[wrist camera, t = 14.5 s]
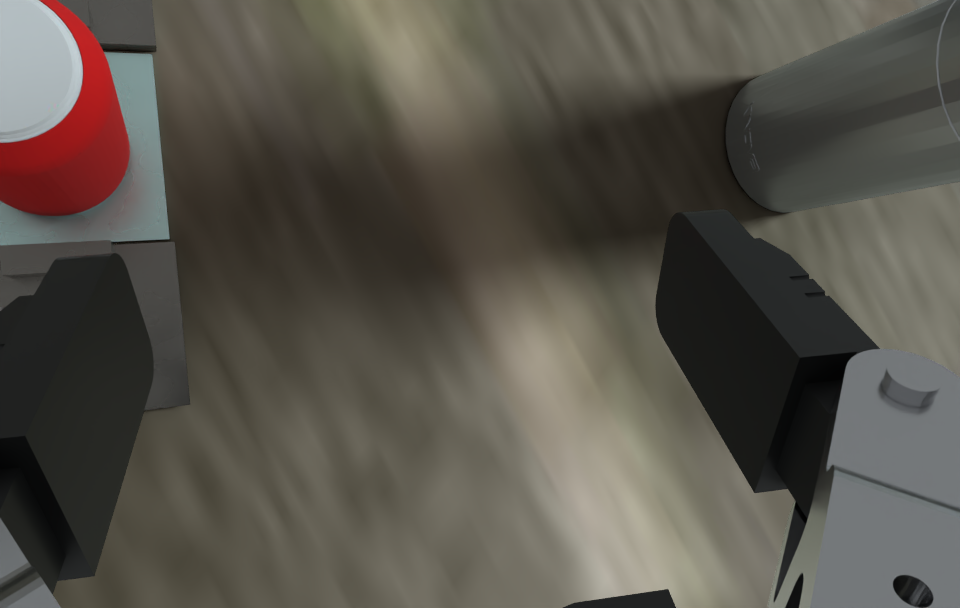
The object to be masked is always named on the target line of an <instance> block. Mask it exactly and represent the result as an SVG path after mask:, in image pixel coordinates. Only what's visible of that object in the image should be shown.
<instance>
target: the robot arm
mask: <svg viewBox="0 0 960 608" xmlns="http://www.w3.org/2000/svg"><path fill="white" fill-rule="evenodd" d="M726 147H727V153H728V159H729V162H730V165H731V167H732V170H733V173H734V175H735V177H736V179H737V180H738V182H739V184H740V186H741V187H742V188H743V189H744V191H745V192H746V193H747V194H748V195H749V197H750V198H752V199H753V200H754V201H755V202H757V203H758V204H759V205H761V206H763V207H765V208H767V209H769V210H771V211H776V212H781V213H785V212H796V211H801V210H807V209H812V208H818V207H823V206H829V205H834V204H841V203H847V202H852V201H857V200H863V199H868V198H874V197H879V196H885V195H890V194H895V193H901V192H906V191H912V190H917V189H923V188H928V187H934V186H939V185H944V184H950V183H955V182H960V0H938V1H936V2H933V3H931V4H929V5H926V6H924V7H922V8H919V9H917V10H915V11H912V12H910V13H907V14H905V15H903V16H900V17H898V18H896V19H893V20H891V21H889V22H886V23H884V24H881V25H879V26H877V27H874V28H872V29H870V30H867V31H865V32H863V33H860V34H858V35H855V36H853V37H851V38H848V39H846V40H844V41H841V42H839V43H837V44H834V45H832V46H829V47H827V48H825V49H822V50H820V51H818V52H815V53H813V54H811V55H808V56H805V57H803V58H801V59H798V60H796V61H794V62H791V63H789V64H787V65H784V66H782V67H779V68H777V69H775V70H772V71H770V72H768V73H765V74H763V75H761V76H759V77H757V78H755V79H753V80H751V81H749V82H748V83H747V84H746V85H745V86H744V87H743V88H742V89H741V90H740V91H739V93H738V94H737V96H736V97H735V99H734V101H733V103H732V105H731V108H730V111H729V113H728V119H727V124H726ZM656 318H657V323H658V327H659V330H660V333H661V335H662V337H663V339H664V341H665V342H666V344H667V346H668V347H669V349H670V351H671V352H672V354H673V356H674V357H675V359H676V361H677V363H678V364H679V366H680V368H681V369H682V371H683V373H684V374H685V376H686V378H687V379H688V381H689V383H690V385H691V386H692V388H693V390H694V391H695V393H696V395H697V396H698V398H699V400H700V401H701V403H702V405H703V407H704V408H705V410H706V412H707V413H708V415H709V417H710V418H711V420H712V422H713V423H714V425H715V427H716V429H717V430H718V432H719V434H720V435H721V437H722V439H723V440H724V442H725V444H726V446H727V447H728V449H729V451H730V452H731V454H732V456H733V457H734V459H735V461H736V462H737V464H738V466H739V468H740V469H741V471H742V473H743V474H744V476H745V478H746V479H747V481H748V483H749V484H750V486H751V488H752V490H753V491H754V493H759V492H767V491H775V490H782V489H788V490H789V491H790V493H791V494H792V496H793V497H794V499H795V501H794V503H793V506H792V509H791V511H790V514H789V516H788V521H787V525H786V529H785V533H784V538H783V542H782V546H781V551H780V555H779V559H778V563H777V568H776V572H775V576H774V580H773V585H772V589H771V593H770V598H769V602H768V606H767V608H960V377H958V376H957V375H956V374H954V373H953V372H952V371H950V370H949V369H947V368H946V367H944V366H942V365H940V364H938V363H936V362H934V361H932V360H930V359H927V358H925V357H923V356H919V355H916V354H913V353H909V352H905V351H900V350H893V349H880V348H879V347H878V346H877V345H876V344H875V343H874V342H873V341H872V340H871V339H870V338H869V337H868V336H867V335H866V334H865V333H864V332H863V331H862V330H861V328H860V327H859V326H858V325H857V324H856V323H855V322H854V321H853V320H852V319H851V318H850V317H849V316H848V315H847V314H846V313H845V312H844V311H843V310H842V309H841V308H840V307H839V306H838V305H837V304H836V302H835V301H834V300H833V299H832V298H831V297H830V296H825V291H824V290H823V289H822V288H821V287H820V286H819V285H818V284H817V283H816V282H815V281H814V280H813V279H809V274H808V273H807V272H806V271H805V270H804V269H803V268H802V267H801V266H800V265H799V264H798V263H797V262H796V261H795V260H794V259H793V258H792V257H791V256H790V255H789V254H787V253H786V252H784V251H782V250H780V249H778V248H777V247H775V246H773V245H771V244H770V243H768V242H766V241H764V240H762V239H761V238H756V239H754V238H753V237H752V236H751V235H750V234H749V233H748V232H747V231H746V229H745V228H744V227H743V226H742V225H741V224H740V223H739V222H738V221H737V220H736V219H735V217H734V216H733V215H732V214H731V213H730V212H729V211H727V210H724V209H720V210H707V211H693V212H680V213H676V214H675V215H674V216H673V217H672V219H671V221H670V224H669V227H668V232H667V238H666V243H665V249H664V255H663V260H662V266H661V272H660V277H659V283H658V289H657V294H656ZM153 374H154V360H153V351H152V346H151V341H150V338H149V335H148V332H147V329H146V326H145V322H144V319H143V316H142V313H141V310H140V307H139V304H138V301H137V297H136V294H135V291H134V288H133V285H132V282H131V279H130V276H129V273H128V270H127V267H126V264H125V262H124V260H123V259H122V257H121V256H120V255H119V254H117V253H108V254H94V255H81V256H67V257H58V258H56V259H55V260H54V262H53V263H52V265H51V266H50V268H49V270H48V272H47V273H46V275H45V277H44V278H43V280H42V282H41V284H40V285H39V287H38V289H37V290H36V292H35V294H34V295H27V296H19V297H17V298H16V299H15V300H14V301H12V302H11V303H10V304H8V305H7V306H6V307H5V308H3V309H2V310H1V311H0V608H61V607H60V606H59V604H58V603H57V601H56V600H55V598H54V596H53V592H54V589H55V586H56V583H57V581H60V580H68V579H76V578H83V577H91V576H95V572H96V569H97V566H98V562H99V559H100V556H101V552H102V549H103V546H104V542H105V539H106V536H107V532H108V529H109V526H110V522H111V519H112V516H113V512H114V509H115V506H116V502H117V499H118V496H119V492H120V489H121V486H122V483H123V479H124V476H125V473H126V469H127V466H128V463H129V459H130V456H131V453H132V449H133V446H134V443H135V439H136V436H137V433H138V429H139V426H140V423H141V419H142V416H143V413H144V409H145V406H146V403H147V399H148V396H149V393H150V389H151V386H152V382H153ZM563 608H676V607H675V604H674V602H673V600H672V597H671V595H670V592H669V590H668V589H666V590H659V591H653V592H646V593H639V594H632V595H625V596H618V597H611V598H605V599H598V600H591V601H584V602H577V603H573V604H571V605H568V606H566V607H563Z"/></svg>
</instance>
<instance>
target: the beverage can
mask: <svg viewBox="0 0 960 608" xmlns="http://www.w3.org/2000/svg"><path fill="white" fill-rule="evenodd" d="M129 155H130V145H129V138H128V134H127V130H126V127H125V123H124V119H123V115H122V112H121V108H120V104H119V101H118V97H117V93H116V89H115V86H114V82H113V78H112V74H111V71H110V67H109V64H108V61H107V59H106V56H105V54H104V52H103V50H102V48H101V46H100V44H99V42H98V41H97V39H96V38H95V36H94V35H93V33H92V32H91V31H90V30H89V28H88V27H87V26H86V25H85V24H84V23H83V22H82V21H81V20H80V19H79V18H78V17H77V16H76V15H75V14H74V13H73V12H72V11H70V10H69V9H68V8H67V7H65V6H64V5H63V4H61V3H60V2H58V1H57V0H0V201H2V202H3V203H5V204H7V205H9V206H11V207H13V208H15V209H18V210H21V211H24V212H27V213H31V214H36V215H43V216H66V215H71V214H76V213H80V212H83V211H85V210H88V209H90V208H92V207H94V206H96V205H98V204H100V203H101V202H103V201H104V200H105V199H106V198H108V197H109V196H110V195H111V194H112V193H113V192H114V191H115V190H116V188H117V187H118V186H119V184H120V183H121V181H122V179H123V177H124V175H125V173H126V170H127V167H128V163H129Z"/></svg>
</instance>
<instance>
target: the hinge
mask: <svg viewBox="0 0 960 608" xmlns="http://www.w3.org/2000/svg"><path fill="white" fill-rule="evenodd" d="M57 1H58V2H60V3H61V4H63V5H64V6H65V7H67V8H68V9H69V10H70V11H72V12H73V13H74V14H75V15H76V16H77V17H78V18H79V19H80V20H81V21H82V22H83V23H84V24H85V25H86V26H87V27H88V28H89V30H90V31H91V32H92V33H93V35H94V36H95V38H96V39H97V41H98V42H99V44H100V46H101V48H102V49H106V50H131V51H156V41H155V31H154V20H153V10H152V0H57ZM104 54H105V56H106V59H107V61H108V64H109V67H110V71H111V74H112V78H113V82H114V86H115V89H116V93H117V97H118V101H119V104H120V108H121V112H122V115H123V119H124V123H125V127H126V130H127V134H128V138H129V145H130V155H129V163H128V167H127V170H126V173H125V175H124V177H123V179H122V181H121V183H120V184H119V186H118V187H117V188H116V190H115V191H114V192H113V193H112V194H111V195H110V196H109V197H108V198H106V199H105V200H104V201H103V202H101V203H100V204H98V205H96V206H94V207H92V208H90V209H88V210H85V211H83V212H80V213H76V214H71V215H66V216H43V215H36V214H31V213H27V212H24V211H21V210H18V209H15V208H13V207H11V206H9V205H7V204H5V203H3V202H2V201H0V311H1V310H2V309H3V308H5V307H6V306H7V305H8V304H10V303H11V302H12V301H14V300H15V299H16V298H17V297H19V296H27V295H34V294H35V292H36V290H37V289H38V287H39V285H40V284H41V282H42V280H43V278H44V277H45V275H46V273H47V272H48V270H49V268H50V266H51V265H52V263H53V262H54V260H55V259H56V258H58V257H67V256H81V255H94V254H108V253H117V254H119V255H120V256H121V257H122V259H123V260H124V262H125V264H126V267H127V270H128V273H129V276H130V279H131V282H132V285H133V288H134V291H135V294H136V297H137V301H138V304H139V307H140V310H141V313H142V316H143V319H144V322H145V326H146V329H147V332H148V335H149V338H150V341H151V346H152V351H153V360H154V374H153V382H152V386H151V389H150V393H149V396H148V399H147V403H146V406H145V409H144V410H151V409H159V408H166V407H174V406H182V405H189V404H190V398H189V388H188V377H187V367H186V356H185V346H184V335H183V325H182V314H181V304H180V293H179V283H178V272H177V262H176V251H175V242H159V243H140V244H120V245H114V244H113V243H112V242H129V241H149V240H169V239H170V238H169V228H168V217H167V207H166V196H165V186H164V175H163V165H162V154H161V144H160V133H159V123H158V112H157V102H156V91H155V81H154V70H153V60H152V54H135V53H109V52H104Z"/></svg>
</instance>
